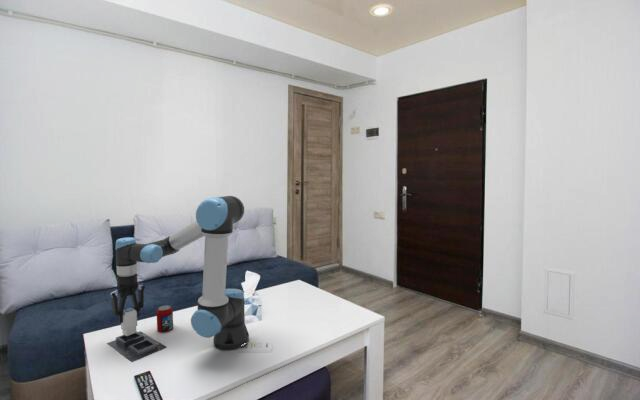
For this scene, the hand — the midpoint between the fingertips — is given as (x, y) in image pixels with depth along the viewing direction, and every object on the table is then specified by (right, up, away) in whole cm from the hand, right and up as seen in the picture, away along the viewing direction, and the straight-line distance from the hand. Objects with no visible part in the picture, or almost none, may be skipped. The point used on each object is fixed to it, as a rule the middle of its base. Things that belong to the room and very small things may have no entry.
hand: (129, 327), depth 143 cm
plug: (0, -3, 0) cm, 3 cm away
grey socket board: (+5, -8, -3) cm, 10 cm away
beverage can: (+10, -7, +11) cm, 17 cm away
